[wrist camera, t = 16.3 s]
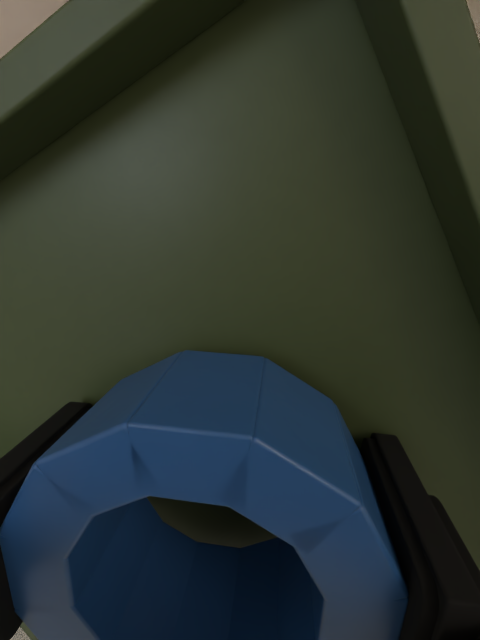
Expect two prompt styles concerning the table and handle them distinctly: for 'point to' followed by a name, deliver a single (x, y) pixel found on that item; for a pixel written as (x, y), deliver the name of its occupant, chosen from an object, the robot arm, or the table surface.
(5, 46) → the table surface
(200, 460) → the ring
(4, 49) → the table surface
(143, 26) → the tray
